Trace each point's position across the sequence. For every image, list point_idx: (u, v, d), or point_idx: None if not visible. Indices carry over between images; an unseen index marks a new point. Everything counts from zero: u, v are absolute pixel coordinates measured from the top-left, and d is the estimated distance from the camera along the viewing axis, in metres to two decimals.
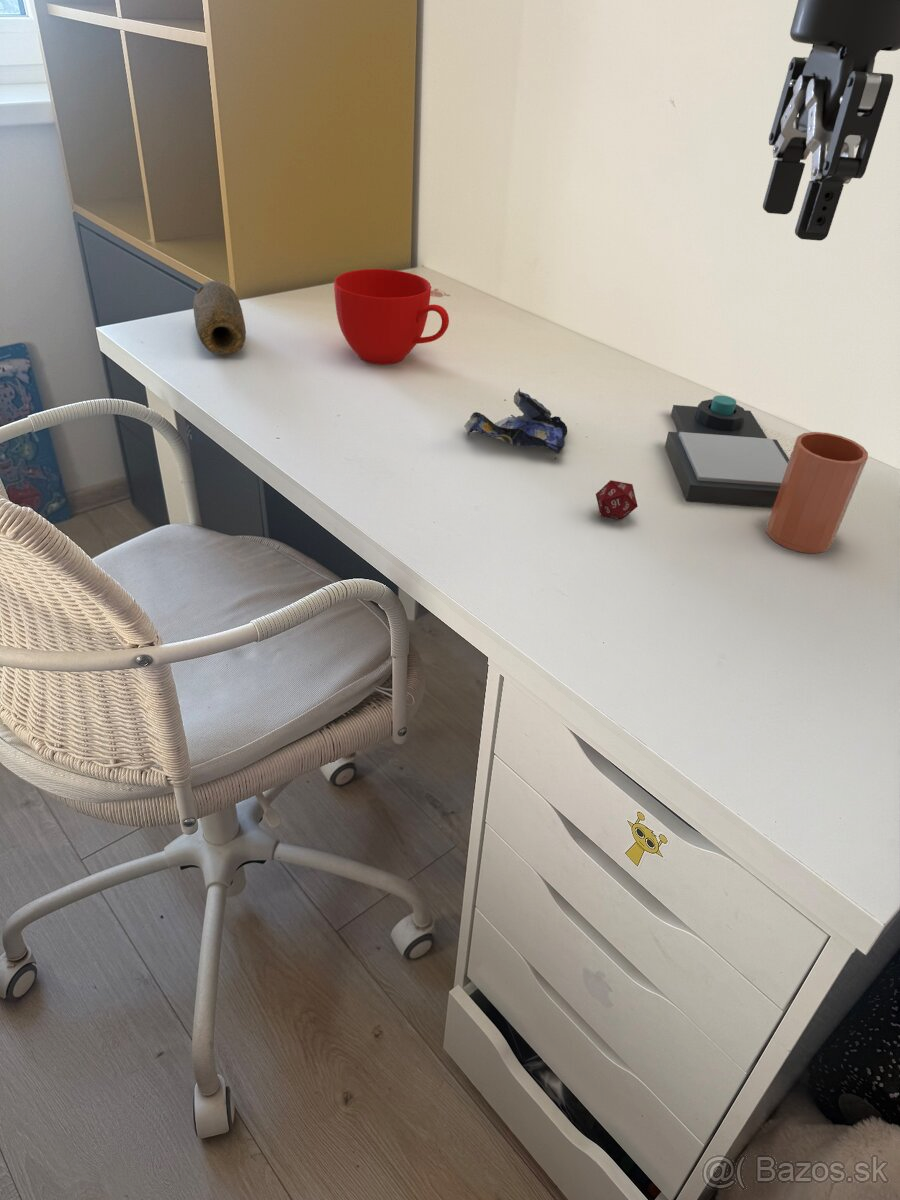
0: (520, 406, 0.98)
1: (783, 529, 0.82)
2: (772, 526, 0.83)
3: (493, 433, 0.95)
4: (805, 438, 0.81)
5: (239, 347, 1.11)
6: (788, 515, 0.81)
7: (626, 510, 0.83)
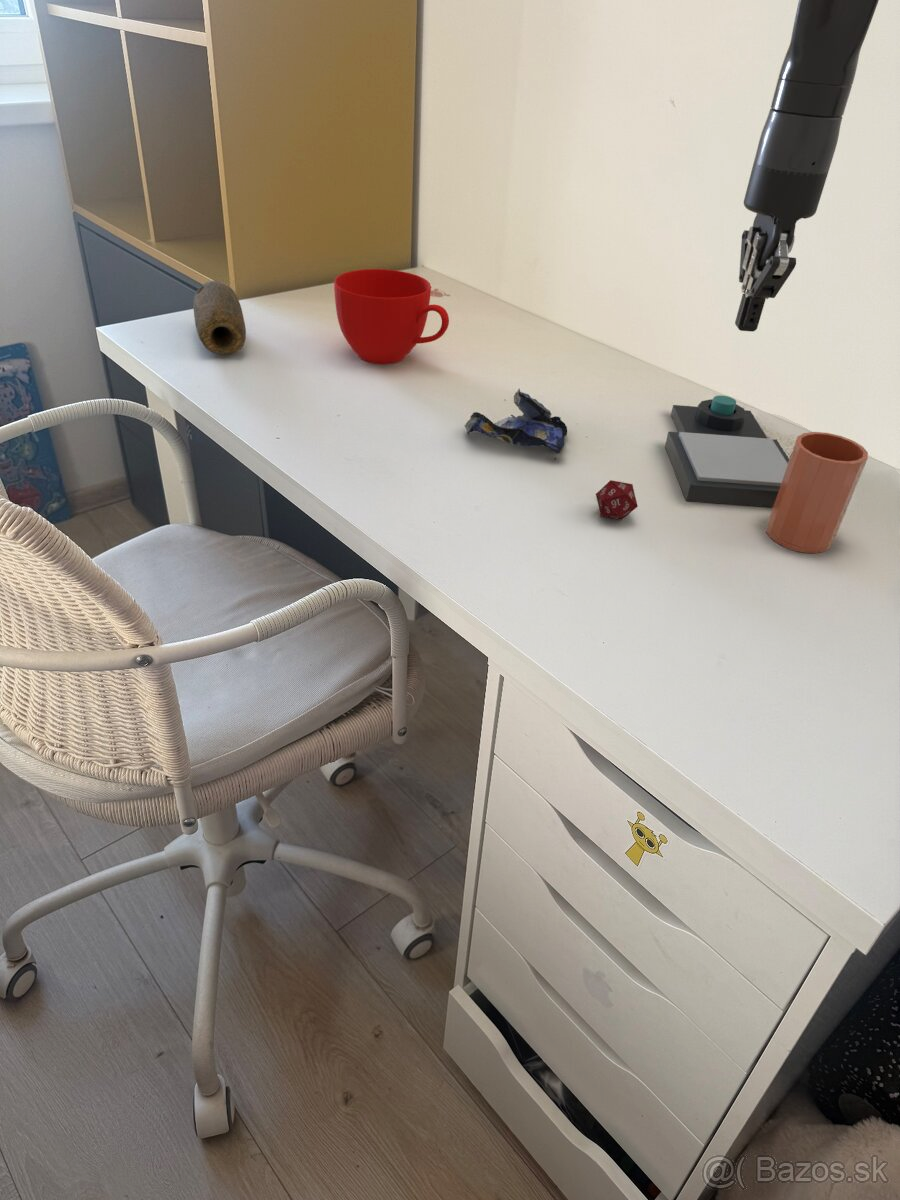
0: (520, 406, 0.98)
1: (783, 529, 0.82)
2: (772, 526, 0.83)
3: (493, 433, 0.95)
4: (805, 438, 0.81)
5: (239, 347, 1.11)
6: (788, 515, 0.81)
7: (626, 510, 0.83)
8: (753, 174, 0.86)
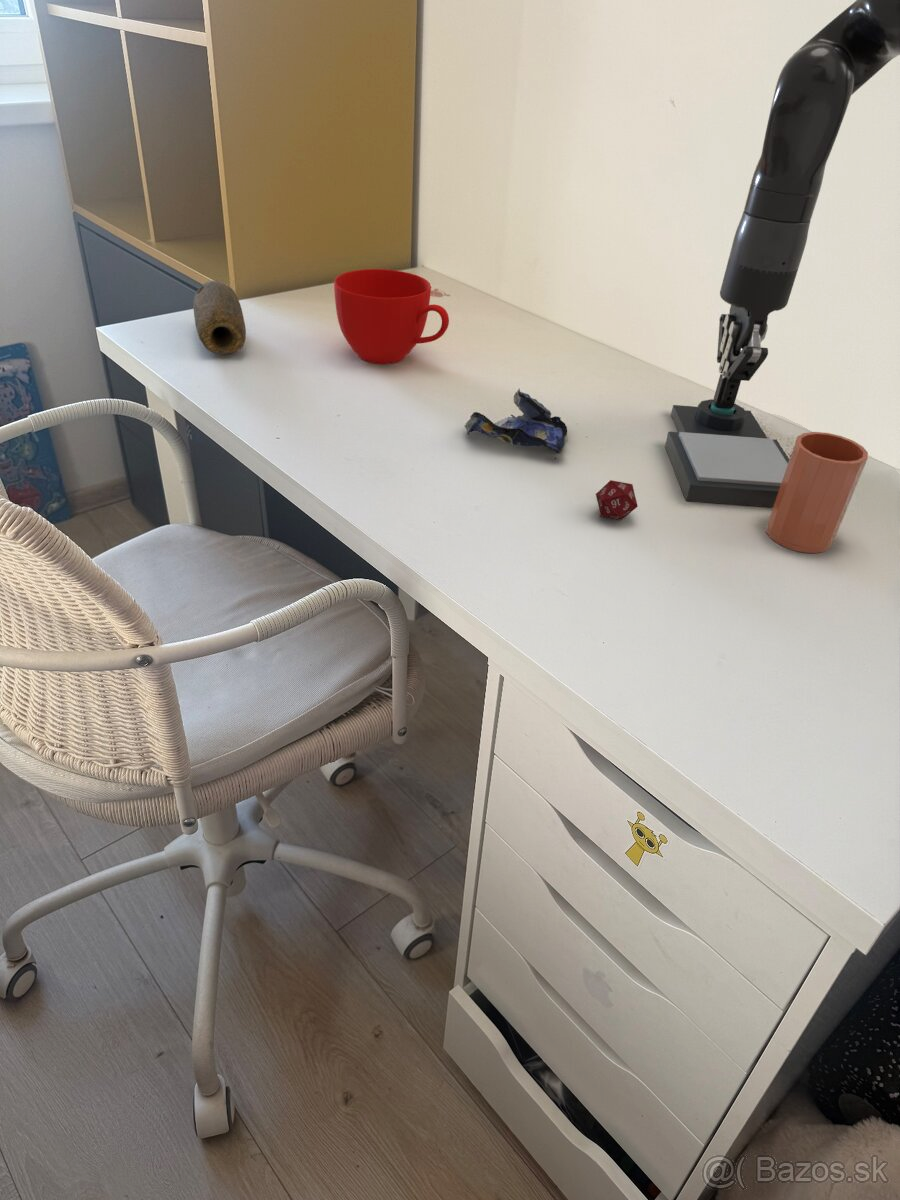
0: (520, 406, 0.98)
1: (783, 529, 0.82)
2: (772, 526, 0.83)
3: (493, 433, 0.95)
4: (805, 438, 0.81)
5: (239, 347, 1.11)
6: (788, 515, 0.81)
7: (626, 510, 0.83)
8: (728, 269, 0.92)
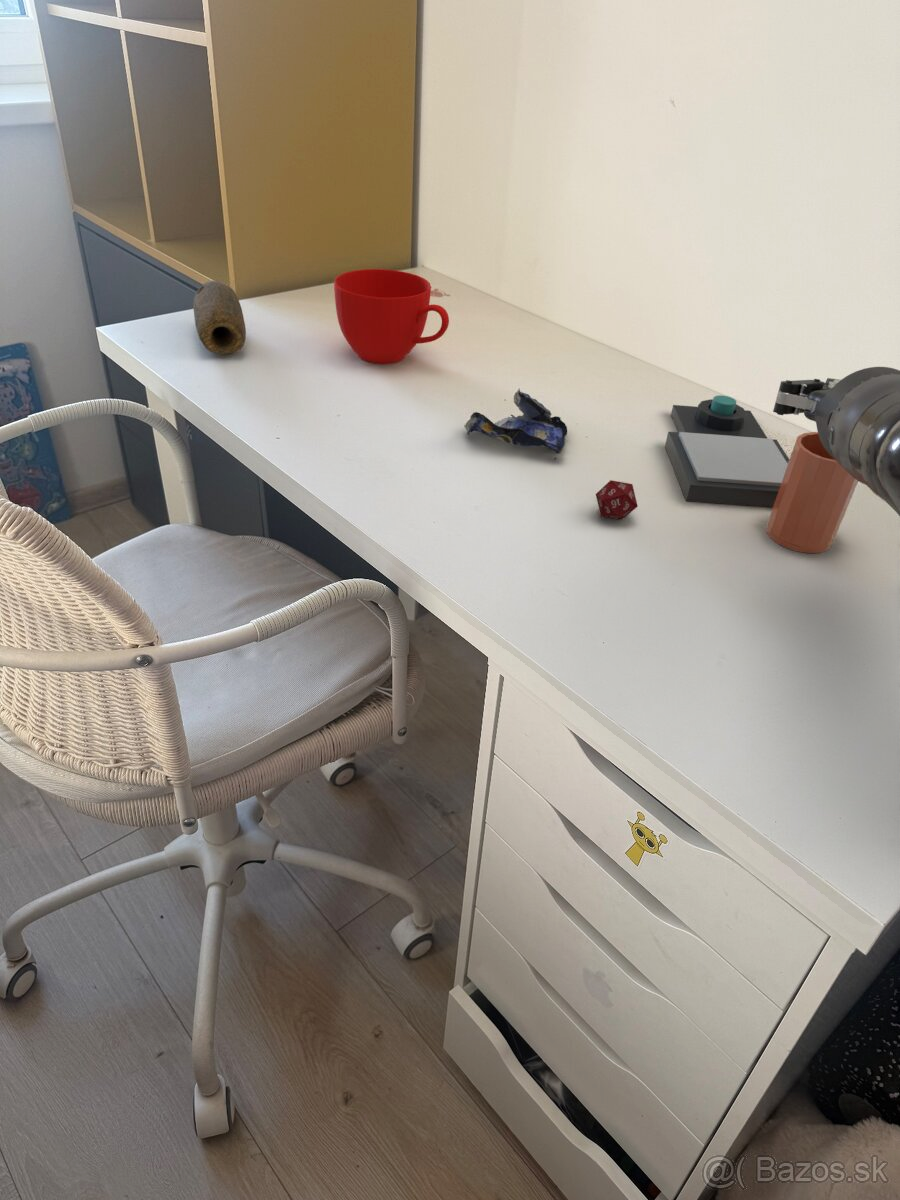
0: (520, 406, 0.98)
1: (783, 529, 0.82)
2: (772, 526, 0.83)
3: (493, 433, 0.95)
4: (805, 438, 0.81)
5: (239, 347, 1.11)
6: (788, 515, 0.81)
7: (626, 510, 0.83)
8: None
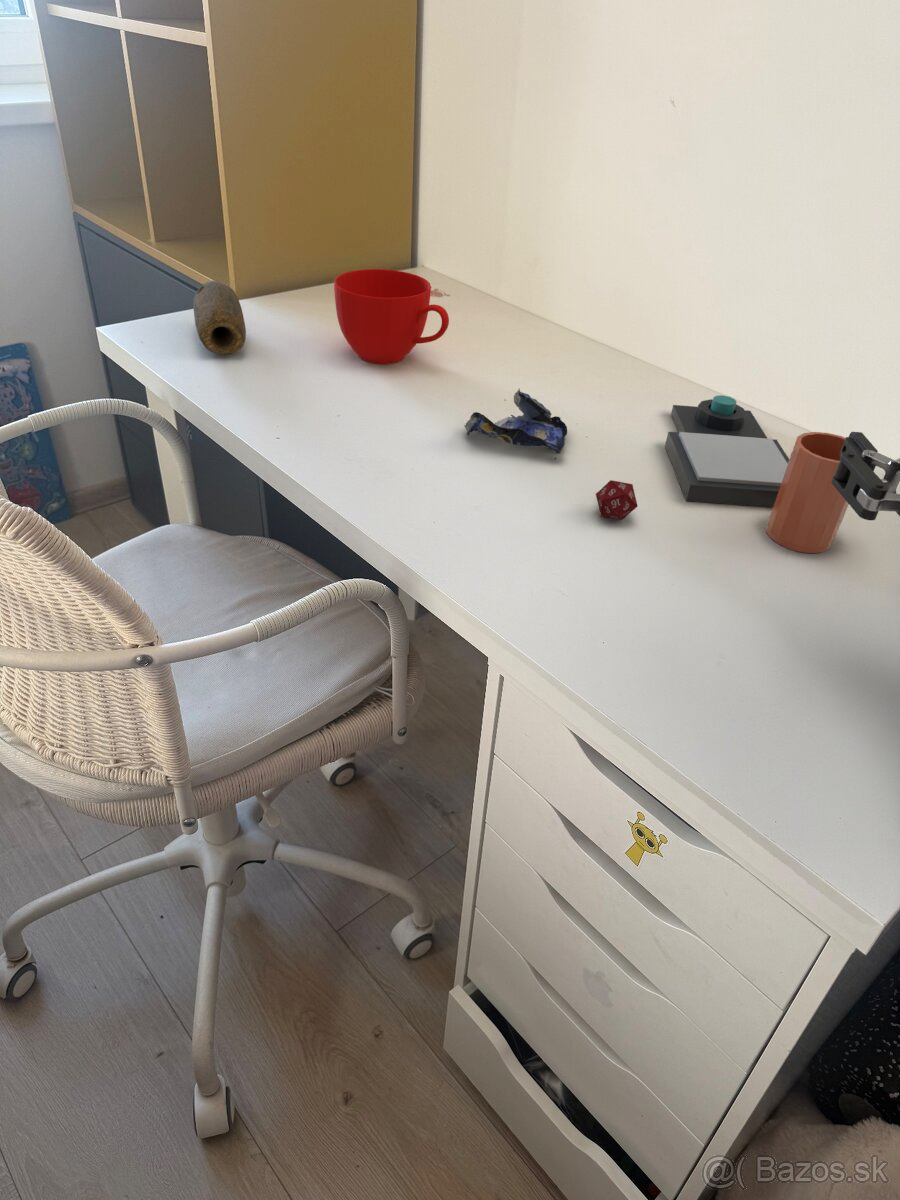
0: (520, 406, 0.98)
1: (783, 529, 0.82)
2: (772, 526, 0.83)
3: (493, 433, 0.95)
4: (805, 438, 0.81)
5: (239, 347, 1.11)
6: (788, 515, 0.81)
7: (626, 510, 0.83)
8: None
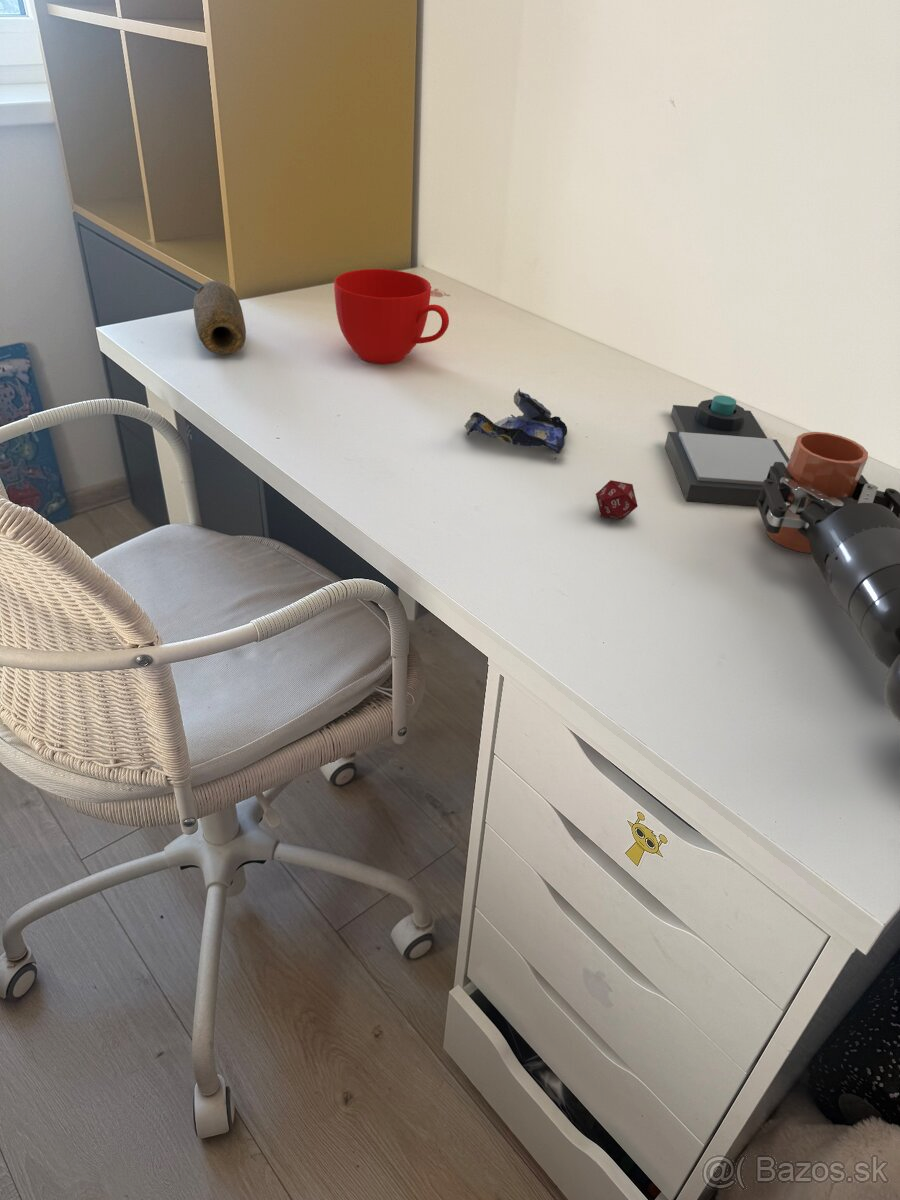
0: (520, 406, 0.98)
1: (783, 529, 0.82)
2: None
3: (493, 433, 0.95)
4: (805, 438, 0.81)
5: (239, 347, 1.11)
6: None
7: (626, 510, 0.83)
8: None
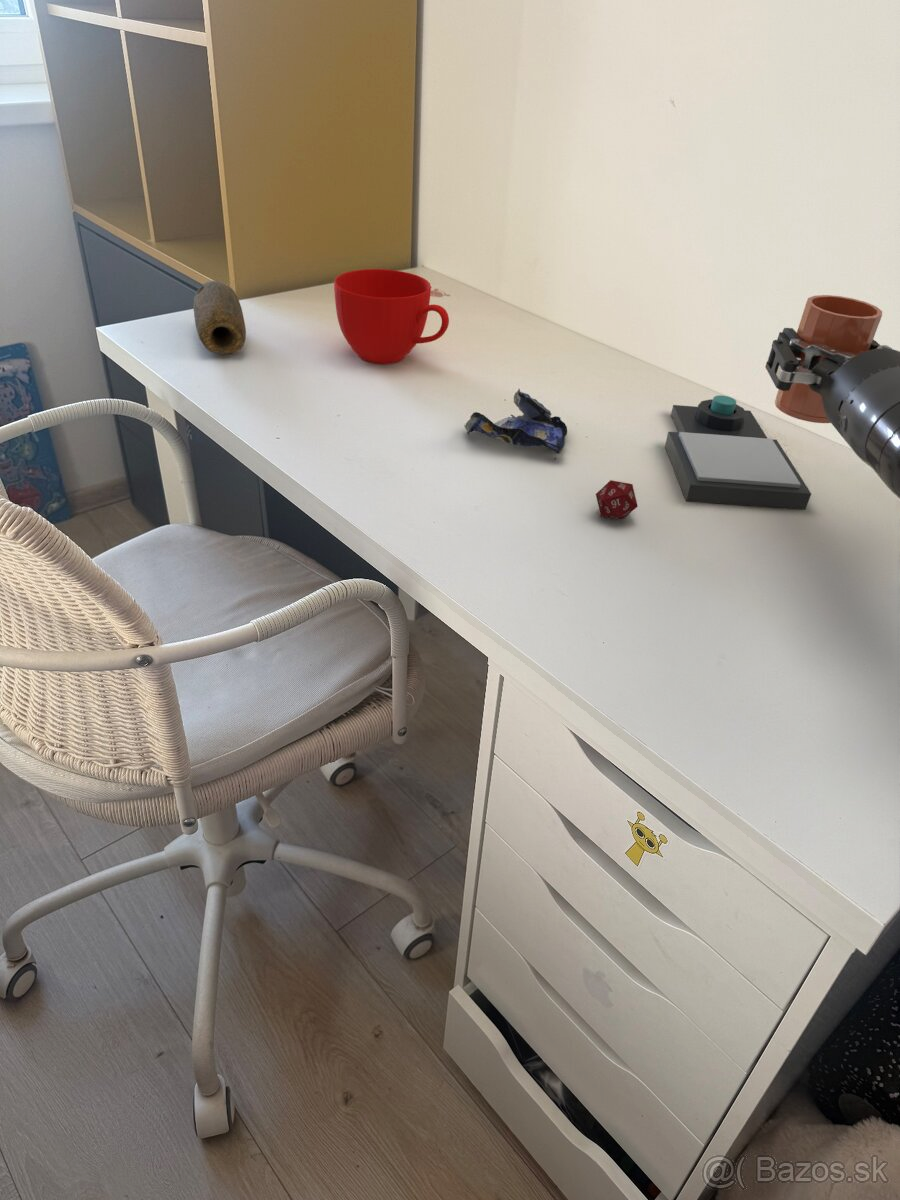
0: (520, 406, 0.98)
1: (793, 398, 0.79)
2: (781, 397, 0.80)
3: (493, 433, 0.95)
4: (816, 300, 0.77)
5: (239, 347, 1.11)
6: None
7: (626, 510, 0.83)
8: None
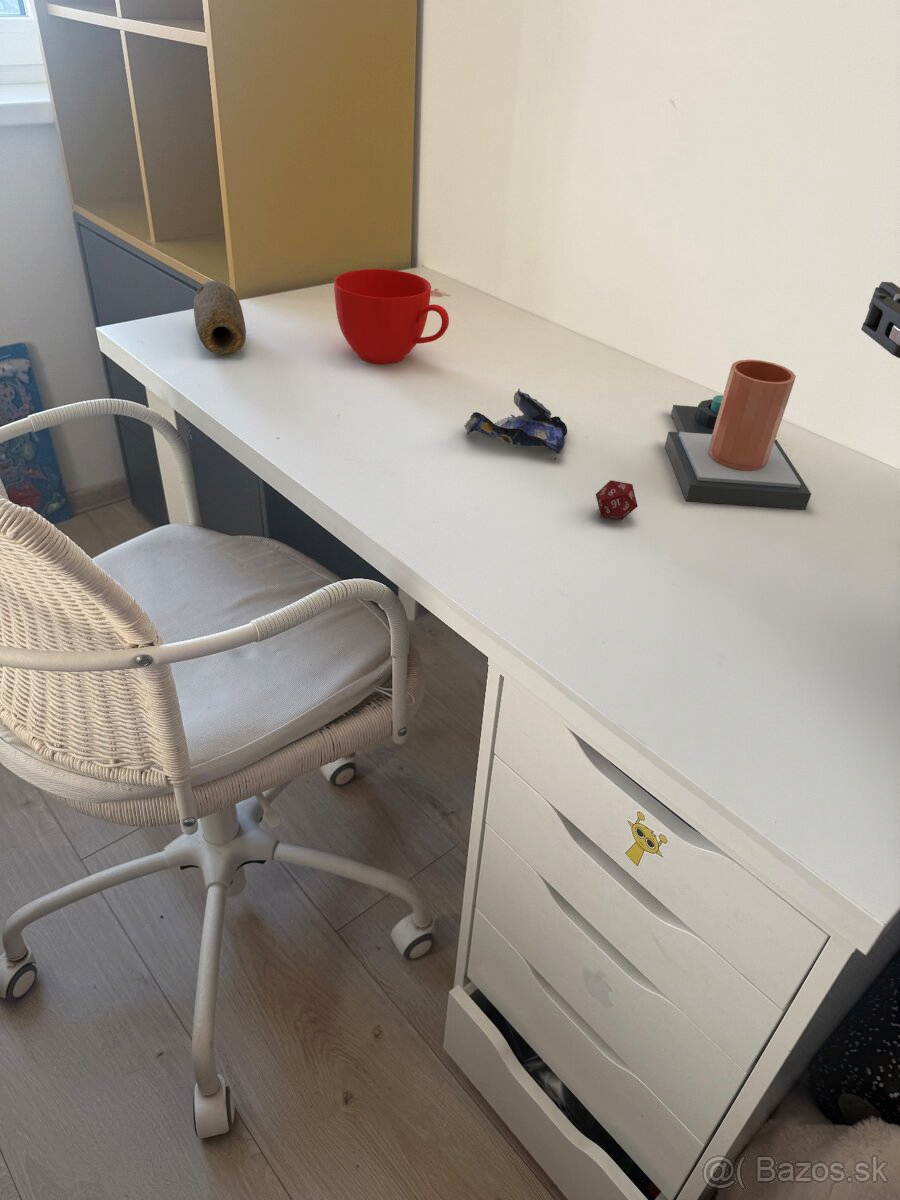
0: (520, 406, 0.98)
1: (721, 449, 0.90)
2: (712, 447, 0.91)
3: (493, 433, 0.95)
4: (740, 365, 0.89)
5: (239, 347, 1.11)
6: (725, 435, 0.89)
7: (626, 510, 0.83)
8: None
